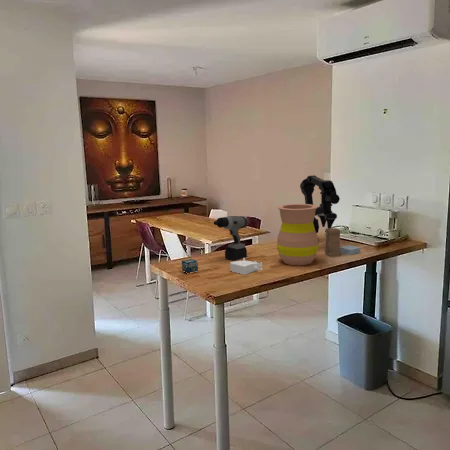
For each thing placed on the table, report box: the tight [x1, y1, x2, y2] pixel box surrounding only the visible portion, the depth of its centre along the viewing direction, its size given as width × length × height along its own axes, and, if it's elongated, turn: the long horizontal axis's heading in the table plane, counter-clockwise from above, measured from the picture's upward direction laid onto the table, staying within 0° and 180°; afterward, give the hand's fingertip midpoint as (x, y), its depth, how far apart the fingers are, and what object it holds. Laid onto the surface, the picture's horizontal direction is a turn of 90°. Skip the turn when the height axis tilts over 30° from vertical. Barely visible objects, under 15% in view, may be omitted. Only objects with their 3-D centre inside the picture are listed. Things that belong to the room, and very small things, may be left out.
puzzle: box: [181, 258, 199, 273], centre depth 218 cm, size 6×6×6 cm
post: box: [324, 227, 341, 258], centre depth 239 cm, size 6×6×15 cm
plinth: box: [340, 244, 361, 256], centre depth 245 cm, size 8×8×3 cm
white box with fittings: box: [229, 257, 264, 276], centre depth 218 cm, size 8×20×16 cm
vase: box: [276, 203, 319, 266], centre depth 228 cm, size 22×22×30 cm
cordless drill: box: [213, 215, 248, 262], centre depth 237 cm, size 8×24×25 cm, turn 137°
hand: (326, 228), depth 252 cm, fingers open, 9 cm apart
